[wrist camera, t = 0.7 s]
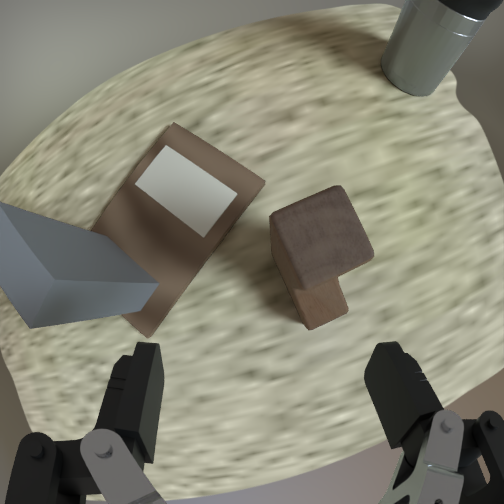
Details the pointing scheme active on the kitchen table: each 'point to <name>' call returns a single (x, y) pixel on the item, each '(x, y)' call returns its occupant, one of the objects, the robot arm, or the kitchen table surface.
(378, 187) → the kitchen table surface
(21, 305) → the slate post
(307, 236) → the wooden block
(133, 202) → the base board
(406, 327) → the kitchen table surface
